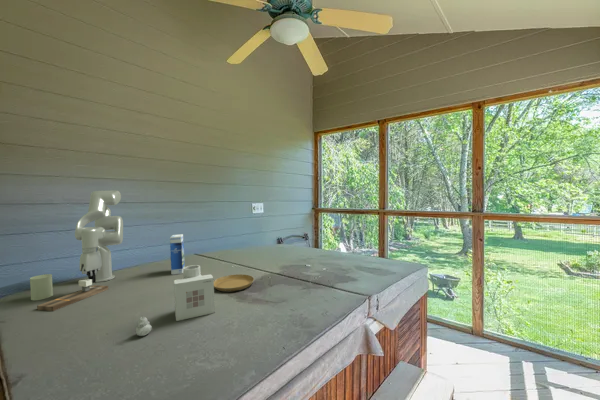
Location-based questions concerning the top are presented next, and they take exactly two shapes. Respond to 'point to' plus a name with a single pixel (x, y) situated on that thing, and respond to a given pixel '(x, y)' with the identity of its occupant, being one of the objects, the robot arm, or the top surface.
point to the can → (41, 287)
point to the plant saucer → (233, 282)
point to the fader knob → (85, 284)
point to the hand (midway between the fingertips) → (92, 281)
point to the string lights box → (177, 254)
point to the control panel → (193, 294)
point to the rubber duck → (143, 327)
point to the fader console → (71, 298)
